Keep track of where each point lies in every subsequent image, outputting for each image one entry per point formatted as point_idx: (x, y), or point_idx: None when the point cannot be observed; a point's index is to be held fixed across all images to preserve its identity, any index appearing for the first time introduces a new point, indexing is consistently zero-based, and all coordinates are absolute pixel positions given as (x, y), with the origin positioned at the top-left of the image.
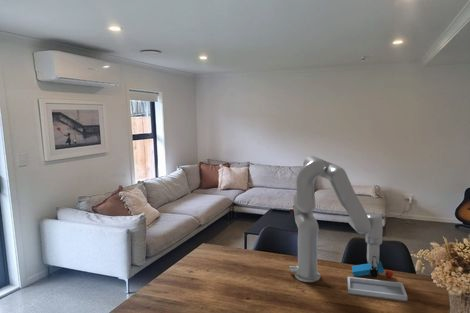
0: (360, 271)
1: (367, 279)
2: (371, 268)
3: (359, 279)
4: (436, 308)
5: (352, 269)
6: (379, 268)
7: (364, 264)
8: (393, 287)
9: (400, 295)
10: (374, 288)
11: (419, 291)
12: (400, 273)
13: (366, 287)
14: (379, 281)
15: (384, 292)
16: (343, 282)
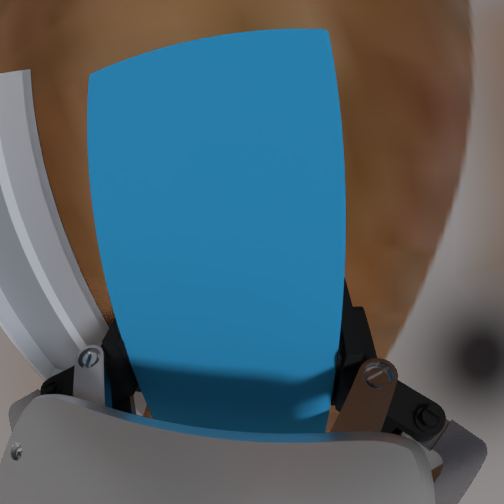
0: (95, 190)
1: (30, 257)
2: (77, 363)
3: (7, 188)
4: None
5: (174, 48)
6: (153, 414)
7: (325, 269)
8: None
9: (33, 368)
10: (28, 278)
11: None
12: (329, 411)
13: (8, 232)
14: (70, 332)
15: (35, 317)
16: (12, 53)
